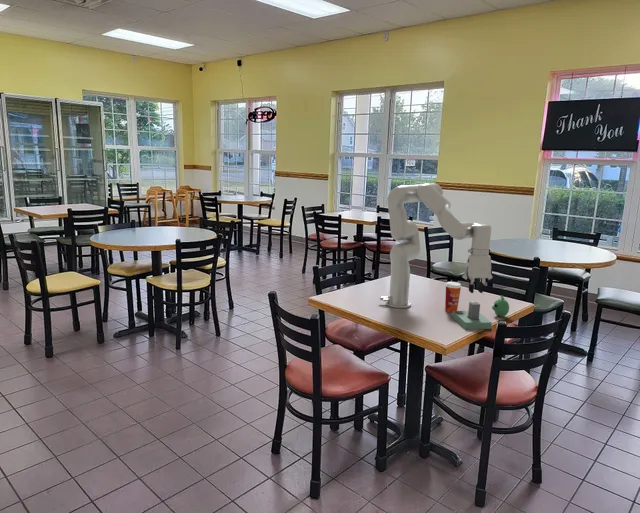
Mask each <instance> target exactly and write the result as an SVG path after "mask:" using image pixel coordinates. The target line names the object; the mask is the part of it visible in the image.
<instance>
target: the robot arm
mask: <svg viewBox="0 0 640 513" xmlns="http://www.w3.org/2000/svg"><path fill="white" fill-rule="evenodd" d="M443 192H444V191H443V189H442V187H441V185H439V184H438V183H432V182H431V183H422V184H409V185H408V184H406V185H405V184H403V185H398V186H395V187H394V188H392V189H391V190H390V192H389V193H388V196H387V200H386V201H387V204H386V205H387V209H388V216H389V218H388V219H389V226H390V228H389V229H390V236H391V237H392V239H393V240H395V241H397V242H398V241H399V242H400V241H402V242H400V243H397V244H395V245H393V246H392V248H391V249H390V252H389V257H390V278H389V279H390V281H389V282H390V283H389V294H387V295H385V296H379V301H383V302H385V304H386V305H387V307H391V308H395V309H406V308H410V307H411V306H412V303H411V301H409V297H410V296H409V294H410V293H409V292H410V278H411V268H410V261H413V260H416V259H417V258H418V257H419V256H420V254H421V243H420V235H419V234H420V233H419V232H420V231H419V227H418V225H417V223H415V221H413V220H410V219H408V216H407V210H406V208H405V204H407V203H409V204H410V203H423V204H424V205H425V207H427V208H428V209H429V210H430V211H431V212H432V214H434V215H435V216H436V218H437V221H438V223H439V225H440V226H441V228H442V229H443V230H444V231H445V233H447V234H448V235H449V236H450V237H451V238H453V239H455V240H458V241H461V240H466V239H471V246H470V248H469V249H467V252H468V253H469V254H468V257H467V261H466V266H465V271H464V272H463V274H462V275H461V277H462V278H463V279H464V280H466V281H467V283H468V291H469V292H470V293H471V294H474V292H475V291H474V289H475V284H474V281H475V279H479V280H480V281H479V283H478V289H477V291H478V292H479V293H480V294H484V293H483V292H484V288H485V285H486V283H487V282H488V281H490V280H492V279H493V275H492V261H491V260H492V258H491V255H489V254H490V245H491V236H492V226H491V225H490V224H488V223H487V224H486V223H477V222H474V221H470V220H469V221H463V222H462V221H459V220H458V219H457V218H456V217H455V215H454V214H453V213H451V202H450V201H449V200H448V198H446V197H445V196H444V195H443V194H444V193H443Z"/></svg>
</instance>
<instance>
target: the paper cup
mask: <svg viewBox="0 0 640 513" xmlns="http://www.w3.org/2000/svg"><path fill="white" fill-rule="evenodd" d="M461 289H462V285H461V283H460V282H458V281H447V282H445V304H444V311H445V312H447V313H451V314H452V311H458V308H459V301H460V296H461V295H460V294H461Z"/></svg>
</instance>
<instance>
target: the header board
mask: <svg viewBox="0 0 640 513" xmlns="http://www.w3.org/2000/svg"><path fill="white" fill-rule="evenodd" d="M451 318H452V319H453V320H455V322H457V323H458V324H459V325H460V326H461V327H462V328H463V329H464V330H491V329H492V326H493V324H492V323H493V322H492V321H491V320H489V319H488V318H487V317H486V316H484V315H483V314H482V313H481V312H479V320H470V319H469V318H468V310H457V311H452V313H451Z"/></svg>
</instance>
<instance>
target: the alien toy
mask: <svg viewBox="0 0 640 513" xmlns="http://www.w3.org/2000/svg"><path fill="white" fill-rule="evenodd" d="M491 309H492V310H493V311H494V314H495V315H496V316H497V317H500V318H503V317H505V316H507V315H508V313H509V312H510V304H509V302H508V300H506V299H505V296H504V295H500V298H499V299H496V300H495V301H494V303H493V305H492V306H491Z"/></svg>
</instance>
